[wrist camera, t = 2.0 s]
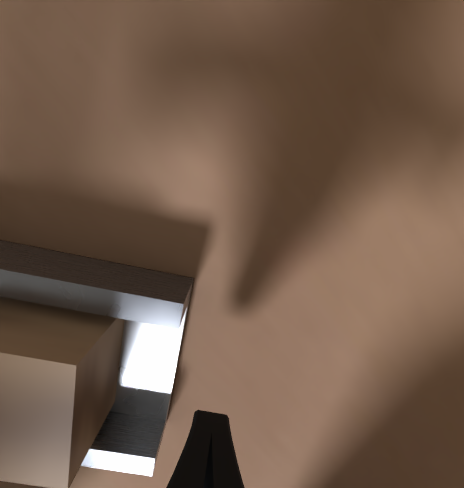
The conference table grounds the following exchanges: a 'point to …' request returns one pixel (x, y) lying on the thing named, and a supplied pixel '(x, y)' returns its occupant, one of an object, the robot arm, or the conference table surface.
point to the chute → (133, 342)
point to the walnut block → (53, 388)
